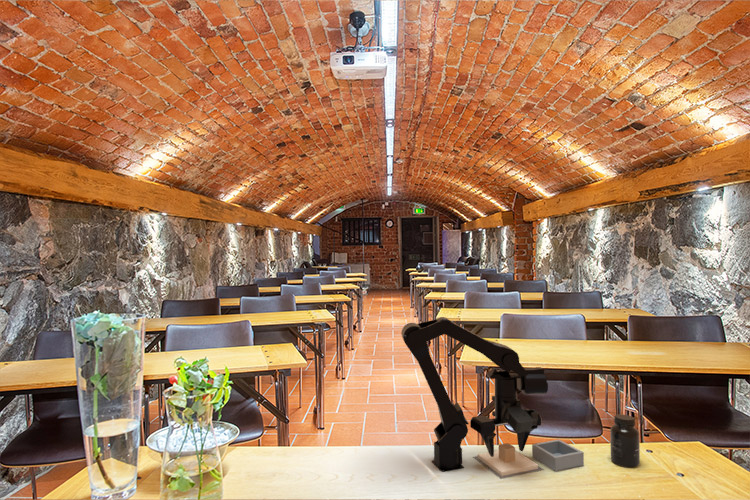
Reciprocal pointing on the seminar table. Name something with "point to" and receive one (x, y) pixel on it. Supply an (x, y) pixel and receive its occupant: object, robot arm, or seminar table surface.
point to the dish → (557, 455)
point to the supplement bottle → (625, 441)
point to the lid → (507, 460)
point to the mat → (506, 475)
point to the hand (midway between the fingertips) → (506, 453)
